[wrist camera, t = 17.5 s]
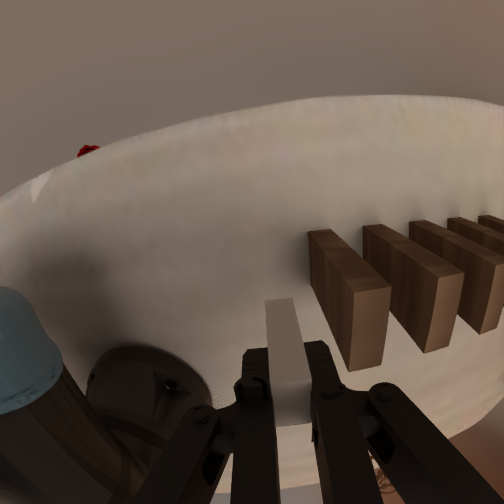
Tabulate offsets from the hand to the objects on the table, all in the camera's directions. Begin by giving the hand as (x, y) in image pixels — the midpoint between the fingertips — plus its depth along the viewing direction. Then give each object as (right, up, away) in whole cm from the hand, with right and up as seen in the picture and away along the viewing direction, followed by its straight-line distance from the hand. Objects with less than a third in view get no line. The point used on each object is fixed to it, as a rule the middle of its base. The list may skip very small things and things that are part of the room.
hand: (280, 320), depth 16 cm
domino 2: (+9, +4, +9) cm, 13 cm away
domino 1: (+4, +3, +9) cm, 11 cm away
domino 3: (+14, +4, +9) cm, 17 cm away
